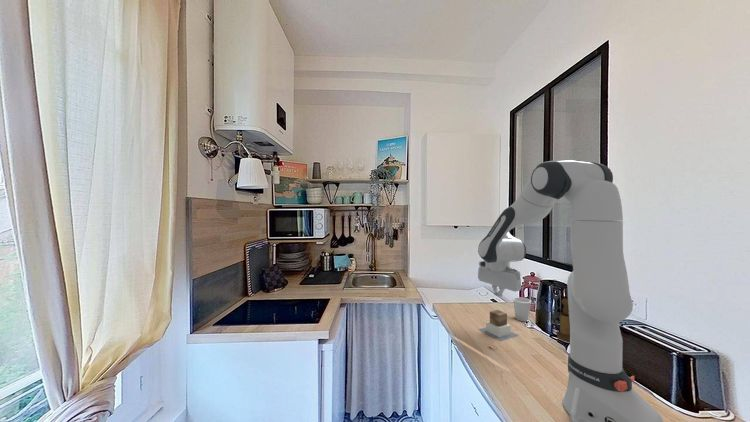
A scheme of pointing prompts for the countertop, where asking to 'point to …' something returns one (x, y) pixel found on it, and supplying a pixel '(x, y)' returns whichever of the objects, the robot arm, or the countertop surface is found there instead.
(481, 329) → the build plate
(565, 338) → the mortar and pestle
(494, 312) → the walnut brick
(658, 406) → the countertop surface
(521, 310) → the dixie cup
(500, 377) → the countertop surface
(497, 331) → the base brick
